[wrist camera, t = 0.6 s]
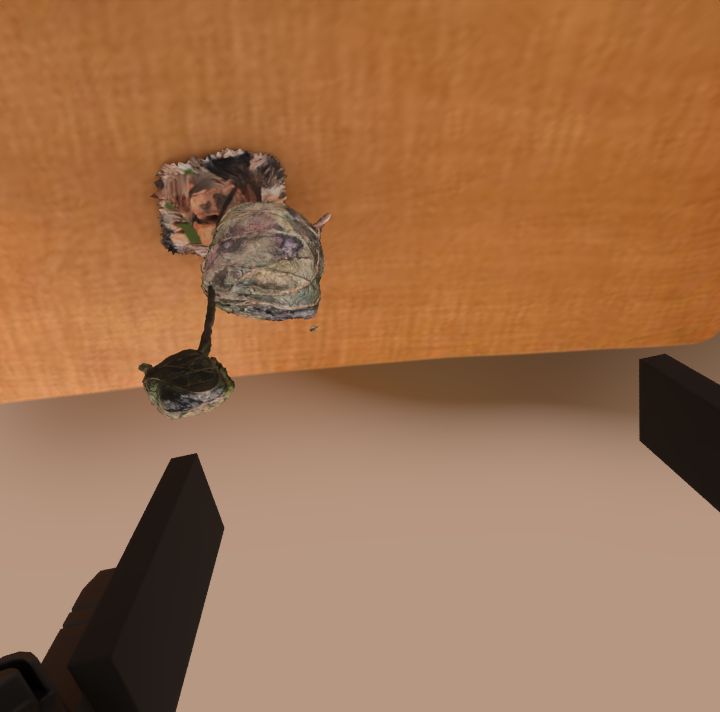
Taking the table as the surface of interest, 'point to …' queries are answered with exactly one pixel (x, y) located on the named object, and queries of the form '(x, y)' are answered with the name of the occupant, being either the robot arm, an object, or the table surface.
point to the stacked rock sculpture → (232, 263)
